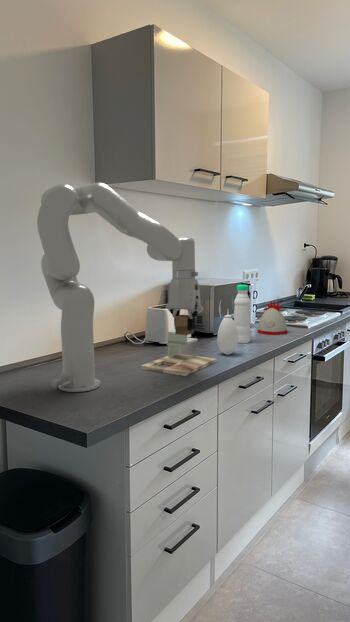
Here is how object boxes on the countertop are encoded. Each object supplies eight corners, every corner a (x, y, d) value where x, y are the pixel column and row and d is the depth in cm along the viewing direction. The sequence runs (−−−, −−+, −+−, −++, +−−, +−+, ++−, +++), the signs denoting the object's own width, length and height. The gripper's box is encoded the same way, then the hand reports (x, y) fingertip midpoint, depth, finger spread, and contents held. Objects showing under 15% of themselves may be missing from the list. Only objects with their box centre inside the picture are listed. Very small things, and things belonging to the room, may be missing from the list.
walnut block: (186, 335, 159) (186, 317, 158) (175, 333, 161) (175, 316, 161) (193, 332, 163) (193, 315, 162) (182, 331, 165) (182, 314, 164)
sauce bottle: (213, 354, 187) (213, 308, 184) (226, 351, 192) (226, 306, 190) (229, 357, 181) (229, 310, 179) (241, 354, 187) (242, 308, 184)
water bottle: (237, 344, 205) (238, 285, 202) (231, 340, 212) (231, 284, 208) (252, 343, 207) (253, 285, 204) (246, 339, 214) (246, 283, 210)
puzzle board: (185, 376, 157) (185, 372, 156) (140, 369, 166) (140, 365, 166) (216, 361, 175) (216, 358, 175) (175, 356, 185) (175, 352, 184)
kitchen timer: (281, 336, 222) (281, 304, 220) (253, 333, 229) (253, 302, 227) (290, 331, 233) (291, 300, 231) (264, 328, 241) (264, 299, 239)
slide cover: (186, 359, 172) (186, 333, 171) (167, 356, 177) (167, 331, 175) (197, 355, 179) (197, 330, 178) (179, 352, 183) (179, 328, 182)
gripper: (211, 275, 158) (211, 329, 160) (168, 273, 167) (169, 325, 169) (200, 276, 152) (200, 333, 154) (156, 275, 161) (157, 329, 163)
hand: (184, 328), depth 162 cm, fingers closed on walnut block, 4 cm apart
